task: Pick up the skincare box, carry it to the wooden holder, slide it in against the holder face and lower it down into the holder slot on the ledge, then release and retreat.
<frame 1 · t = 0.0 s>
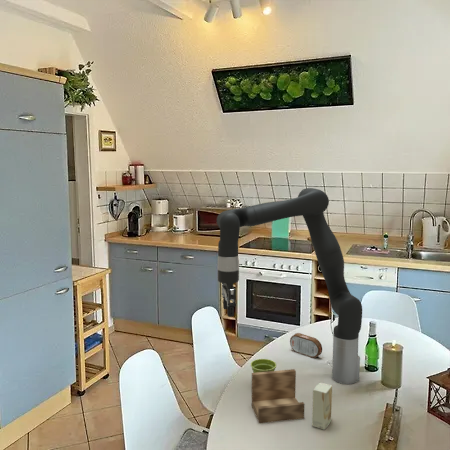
hand: (228, 312, 165), 29 cm above the table, fingers open, 8 cm apart
wooden holder: (274, 407, 157), on the table
tin: (305, 355, 199), on the table
skincare box: (321, 424, 147), on the table
plant pot: (263, 386, 171), on the table
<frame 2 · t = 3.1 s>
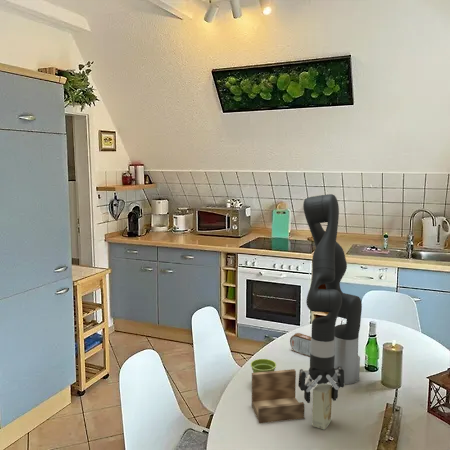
hand: (320, 400, 146), 8 cm above the table, fingers open, 8 cm apart
skincare box: (321, 424, 147), on the table, touching gripper
everything else where it was.
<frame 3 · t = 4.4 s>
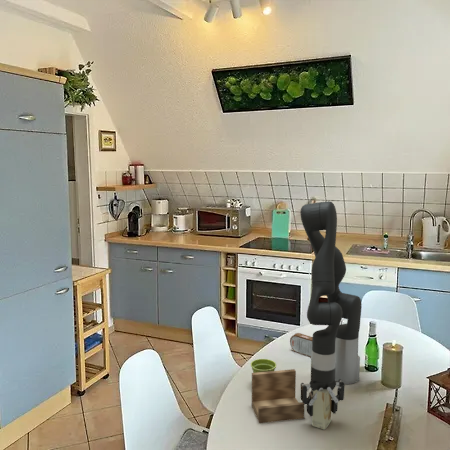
hand: (321, 413, 147), 3 cm above the table, fingers closed on skincare box, 7 cm apart
skincare box: (321, 424, 147), on the table, touching gripper
everything else where it was.
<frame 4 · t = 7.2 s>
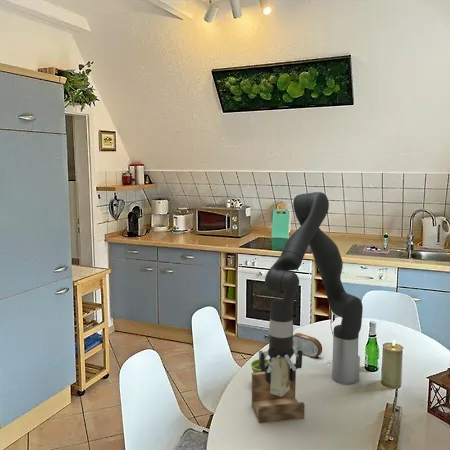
hand: (280, 381, 149), 13 cm above the table, fingers closed on skincare box, 7 cm apart
skincare box: (280, 391, 149), point 9 cm above the table, touching gripper
everything else where it was.
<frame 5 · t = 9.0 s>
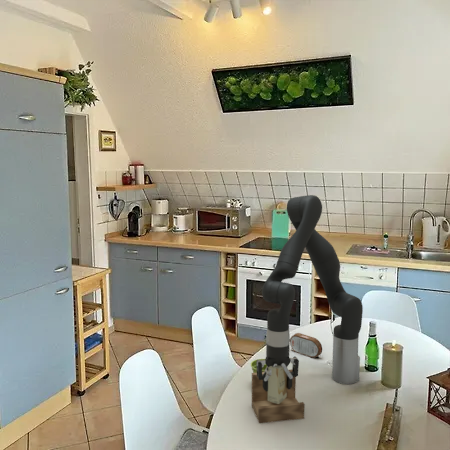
hand: (277, 389, 153), 8 cm above the table, fingers closed on skincare box, 7 cm apart
skincare box: (277, 399, 153), point 5 cm above the table, touching gripper
everything else where it was.
when the fingers open (7 cm above the table, at t = 10.3 s): skincare box stays where it is, resting on wooden holder.
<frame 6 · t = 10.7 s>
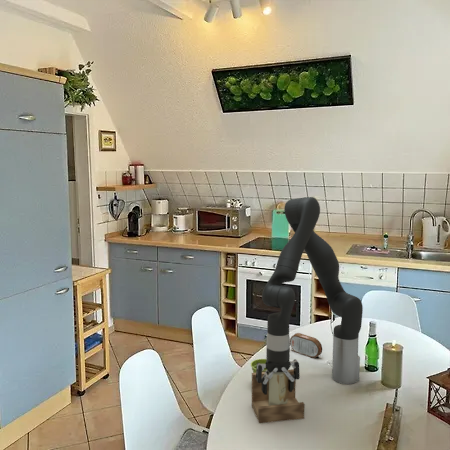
hand: (277, 392, 153), 7 cm above the table, fingers open, 8 cm apart
skincare box: (278, 405, 154), point 2 cm above the table, touching wooden holder
everything else where it was.
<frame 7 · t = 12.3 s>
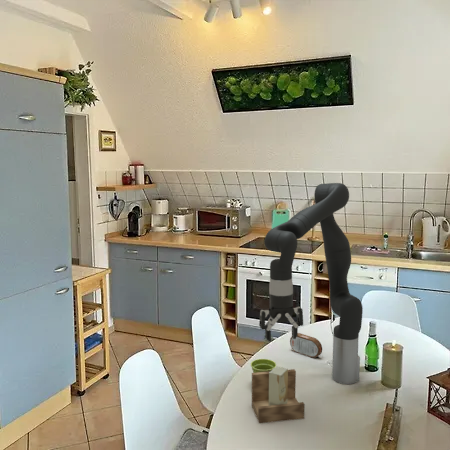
hand: (281, 339, 152), 25 cm above the table, fingers open, 8 cm apart
nothing on the table moved.
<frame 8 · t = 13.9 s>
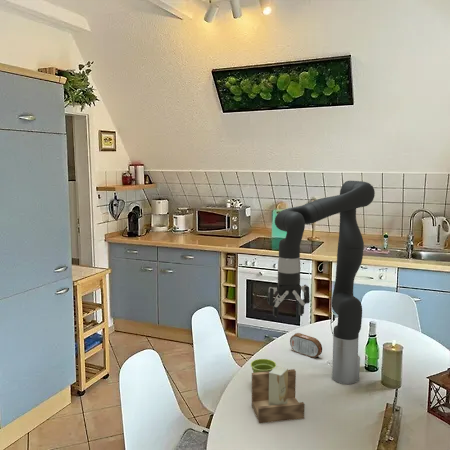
hand: (288, 316, 158), 30 cm above the table, fingers open, 8 cm apart
nothing on the table moved.
at the end: skincare box inside the target area on the wooden holder (0.3 cm from its centre), point 2.3 cm above the wooden holder's base; skincare box tilted 0°; the gripper is holding nothing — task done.
